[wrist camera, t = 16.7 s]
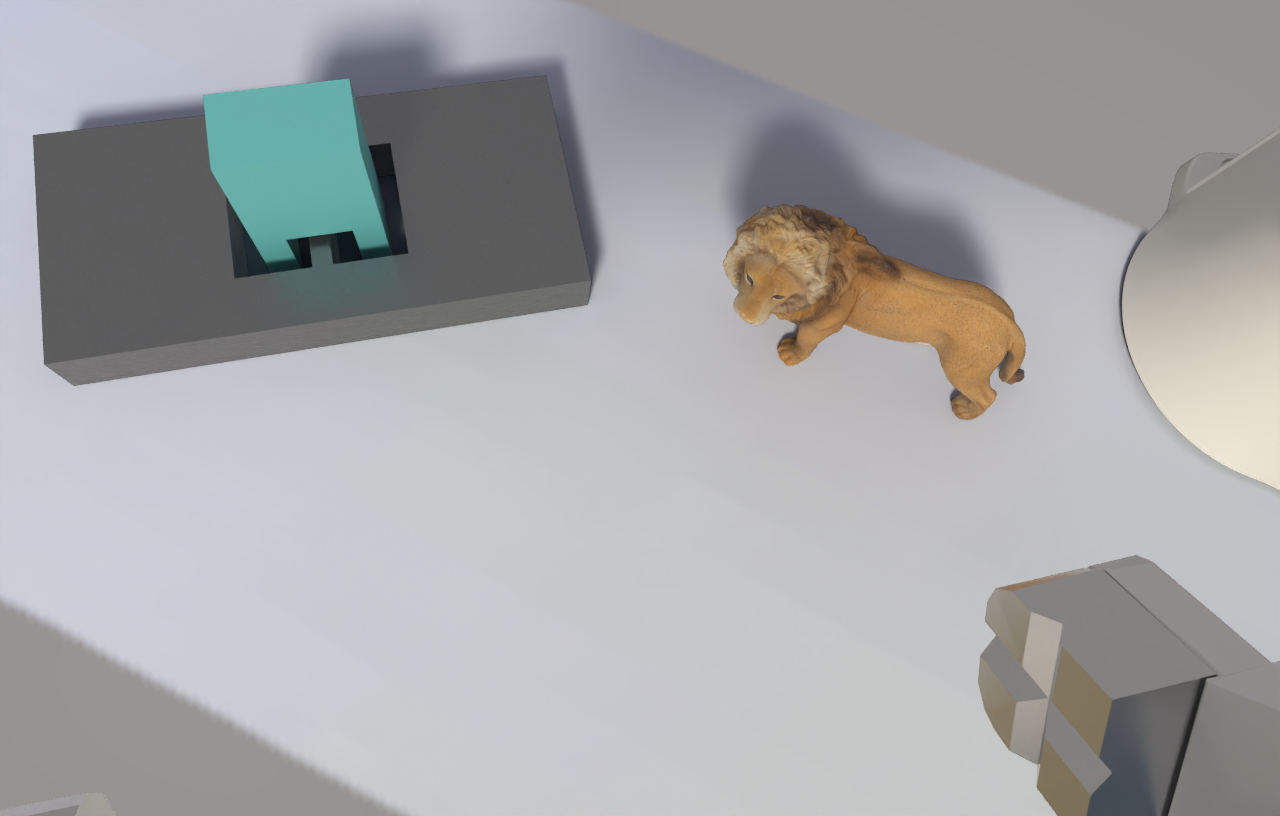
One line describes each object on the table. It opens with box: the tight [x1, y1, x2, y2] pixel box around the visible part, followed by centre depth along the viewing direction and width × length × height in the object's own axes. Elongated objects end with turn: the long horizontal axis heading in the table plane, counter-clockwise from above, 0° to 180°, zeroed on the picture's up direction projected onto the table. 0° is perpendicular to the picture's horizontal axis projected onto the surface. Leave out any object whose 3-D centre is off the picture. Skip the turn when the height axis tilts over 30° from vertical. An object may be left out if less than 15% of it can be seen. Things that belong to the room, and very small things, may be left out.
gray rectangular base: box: [33, 75, 591, 386], centre depth 40 cm, size 21×10×2 cm, turn 102°
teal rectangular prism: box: [203, 79, 392, 273], centre depth 38 cm, size 5×3×8 cm, turn 102°
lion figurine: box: [723, 204, 1026, 420], centre depth 39 cm, size 15×5×9 cm, turn 82°
